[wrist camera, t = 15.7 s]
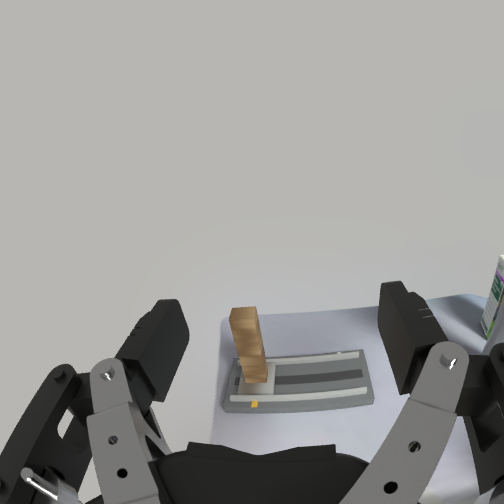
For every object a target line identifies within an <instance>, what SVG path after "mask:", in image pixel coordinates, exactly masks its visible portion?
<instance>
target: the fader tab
mask: <svg viewBox="0 0 504 504" xmlns="http://www.w3.org/2000/svg"><path fill="white" fill-rule="evenodd" d="M229 323H230V326H231V330H232V334H233V338H234V341H235V345H236V349H237V352H238V356H239V360H240V363H241V367H242V372H241V377H240V382H239V387H238V395H274V385H275V372H276V362H266V357H265V352H264V346H263V341H262V336H261V331H260V325H259V320H258V315H257V309H256V307H241V308H232V311H231V314H230V317H229Z"/></svg>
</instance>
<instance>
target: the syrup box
mask: <svg viewBox="0 0 504 504" xmlns="http://www.w3.org/2000/svg"><path fill="white" fill-rule="evenodd" d="M503 296H504V255H500V256H499V260H498V264H497V268H496V272H495V276H494V280H493V284H492V287H491V291H490V294H489V297H488V300H487V303H486V307H485V310H484V313H483V315H482V318H481V321H480V323H481V325H482V327H483V330H484V333H485V335H486V338H487V340H488V338H489V335H490V333H491V330H492V328H493V325H494V322H495V320H496V317H497V314H498V311H499V309H500V306H501V303H502V299H503Z"/></svg>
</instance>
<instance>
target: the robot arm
mask: <svg viewBox="0 0 504 504" xmlns="http://www.w3.org/2000/svg"><path fill="white" fill-rule="evenodd" d="M378 328H379V332H380V335H381V338H382V340H383V343H384V346H385V349H386V352H387V355H388V358H389V361H390V365H391V368H392V371H393V374H394V377H395V381H396V384H397V388H398V391H399V394H400V395H403V394H408V393H410V397H409V398H408V399H407V401H406V403H405V405H404V407H403V409H402V411H401V413H400V415H399V416H398V418H397V420H396V422H395V424H394V425H393V427H392V429H391V431H390V432H389V434H388V436H387V437H386V439H385V441H384V442H383V444H382V445H381V447H380V449H379V450H378V452H377V453H376V455H375V456H374V458H373V459H372V461H371V462H370V463H368V462H366V461H364V460H362V459H360V458H357V457H354V456H351V455H347V454H342V453H336V446H335V444H332V445H321V446H307V447H296V448H292V449H288V450H283V451H279V452H274V453H270V454H265V455H253V454H249V453H246V452H242V451H239V450H235V449H232V448H229V447H225V446H222V445H212V444H203V443H195V442H189V444H188V446H187V450H185V451H180V452H175V453H172V452H171V450H170V449H169V447H168V445H167V444H166V441H165V439H164V437H163V434H162V432H161V430H160V427H159V425H158V423H157V420H156V417H155V415H154V412H153V410H152V408H151V407H150V405H151V403H152V401H158V402H164V400H165V398H166V395H167V393H168V390H169V388H170V386H171V383H172V381H173V378H174V376H175V374H176V371H177V369H178V366H179V364H180V361H181V359H182V357H183V354H184V352H185V350H186V347H187V345H188V342H189V329H188V326H187V323H186V320H185V318H184V315H183V312H182V309H181V306H180V304H179V301H178V300H176V299H165V300H158V301H157V303H156V305H155V306H154V307H153V309H152V310H151V312H148V313H147V314H145V315H144V316H143V317H142V318H140V319H139V321H138V323H137V324H136V325H135V327H134V329H133V330H132V332H131V333H130V336H128V337H127V339H126V341H125V342H124V344H123V345H122V347H121V348H120V350H119V351H118V353H117V354H116V356H115V358H108V359H105V360H102V361H100V362H99V363H97V364H96V365H95V366H94V367H93V369H92V370H91V372H89V373H81V374H77V373H76V371H75V370H74V368H73V367H72V366H71V365H69V364H62V365H59V366H57V367H55V368H54V369H53V370H52V371H51V372H50V373H49V375H48V376H47V378H46V379H45V380H44V382H43V383H42V385H41V386H40V388H39V390H38V391H37V393H36V395H35V396H34V398H33V399H32V401H31V402H30V404H29V405H28V407H27V409H26V410H25V412H24V414H23V415H22V417H21V419H20V421H19V422H18V424H17V425H16V427H15V429H14V431H13V433H12V434H11V436H10V438H9V440H8V442H7V443H6V446H5V447H4V449H3V451H2V453H1V455H0V504H82V502H81V501H79V500H78V491H79V488H80V486H81V483H82V480H83V478H84V475H85V473H86V470H87V468H88V465H89V463H90V460H91V458H92V456H93V461H94V465H95V470H96V473H97V478H98V482H99V486H100V489H101V493H102V494H101V495H99V496H98V497H96V498H94V499H92V500H91V501H89V502H87V503H85V504H421V503H419V502H418V501H419V499H420V497H421V495H422V494H423V492H424V490H425V488H426V486H427V485H428V483H429V481H430V479H431V477H432V475H433V473H434V471H435V469H436V467H437V465H438V463H439V460H440V458H441V456H442V454H443V451H444V449H445V447H446V444H447V442H448V439H449V437H450V434H451V432H452V429H453V426H454V424H455V421H456V417H457V416H463V419H464V423H465V426H466V430H467V434H468V437H469V441H470V445H471V449H472V454H473V458H474V463H475V468H476V473H477V479H478V485H479V491H480V497H479V498H478V499H477V500H476V502H475V503H474V504H504V418H503V417H504V296H503V299H502V303H501V306H500V309H499V311H498V314H497V317H496V320H495V322H494V325H493V328H492V330H491V333H490V335H489V338H488V340H487V342H486V345H485V347H484V349H483V351H482V354H481V355H468V353H467V351H466V350H465V349H464V348H463V347H462V346H461V345H459V344H457V343H454V342H449V341H448V339H447V337H446V335H445V334H444V332H443V330H442V328H441V327H440V325H439V323H438V322H437V320H436V318H435V317H434V316H433V313H432V312H431V310H430V309H429V307H428V305H427V304H426V302H425V300H424V299H423V298H422V297H420V296H419V295H418V294H416V293H415V292H410V293H408V291H407V290H406V288H405V286H404V285H403V283H402V282H401V281H394V282H386V283H382V284H381V289H380V300H379V309H378ZM66 409H68V410H69V411H70V412H71V413H72V415H73V416H74V417H73V419H72V421H71V423H70V425H69V427H68V429H67V431H66V433H65V435H64V437H63V439H62V438H61V437H60V436H59V434H58V431H57V428H58V424H59V422H60V420H61V419H62V417H63V415H64V413H65V411H66ZM500 409H501V410H500ZM502 414H503V415H502Z"/></svg>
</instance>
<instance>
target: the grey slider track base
mask: <svg viewBox="0 0 504 504" xmlns="http://www.w3.org/2000/svg"><path fill="white" fill-rule="evenodd" d="M266 362H276V372H275V385H274V395H238V387H239V382H240V377H241V372H242V367H241V363H240V360H239V358H235V359H234V360H233V365H232V369H231V373H230V378H229V382H228V386H227V391H226V395H225V399H224V403H223V409H224V411H225V412H227V413H294V412H310V411H323V410H333V409H342V408H350V407H357V406H364V405H370V404H373V402H374V399H375V398H374V393H373V389H372V384H371V380H370V375H369V371H368V367H367V363H366V359H365V355H364V351H363V349H361V350H354V351H346V352H337V353H327V354H317V355H305V356H290V357H272V358H266Z"/></svg>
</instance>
